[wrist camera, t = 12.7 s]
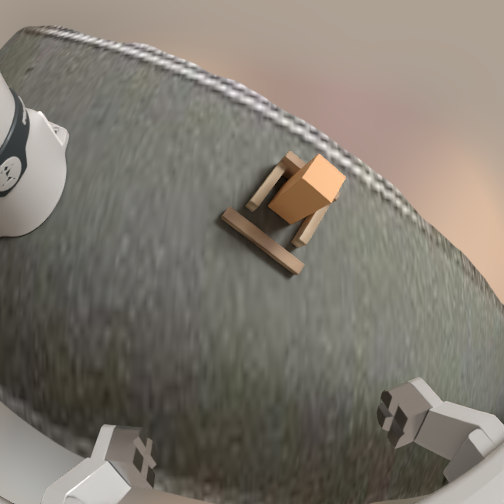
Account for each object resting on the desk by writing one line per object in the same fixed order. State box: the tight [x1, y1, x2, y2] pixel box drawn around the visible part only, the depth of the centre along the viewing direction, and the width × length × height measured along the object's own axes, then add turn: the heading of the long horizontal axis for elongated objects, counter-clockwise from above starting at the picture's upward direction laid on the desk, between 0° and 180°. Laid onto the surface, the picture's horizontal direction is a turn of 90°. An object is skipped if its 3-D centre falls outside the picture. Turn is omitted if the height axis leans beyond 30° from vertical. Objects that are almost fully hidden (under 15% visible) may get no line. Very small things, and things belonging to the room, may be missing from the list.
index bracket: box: [245, 151, 340, 248], centre depth 36 cm, size 9×8×4 cm
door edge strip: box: [220, 206, 304, 275], centre depth 35 cm, size 12×2×1 cm, turn 55°
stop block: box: [268, 154, 346, 225], centre depth 33 cm, size 4×4×10 cm
